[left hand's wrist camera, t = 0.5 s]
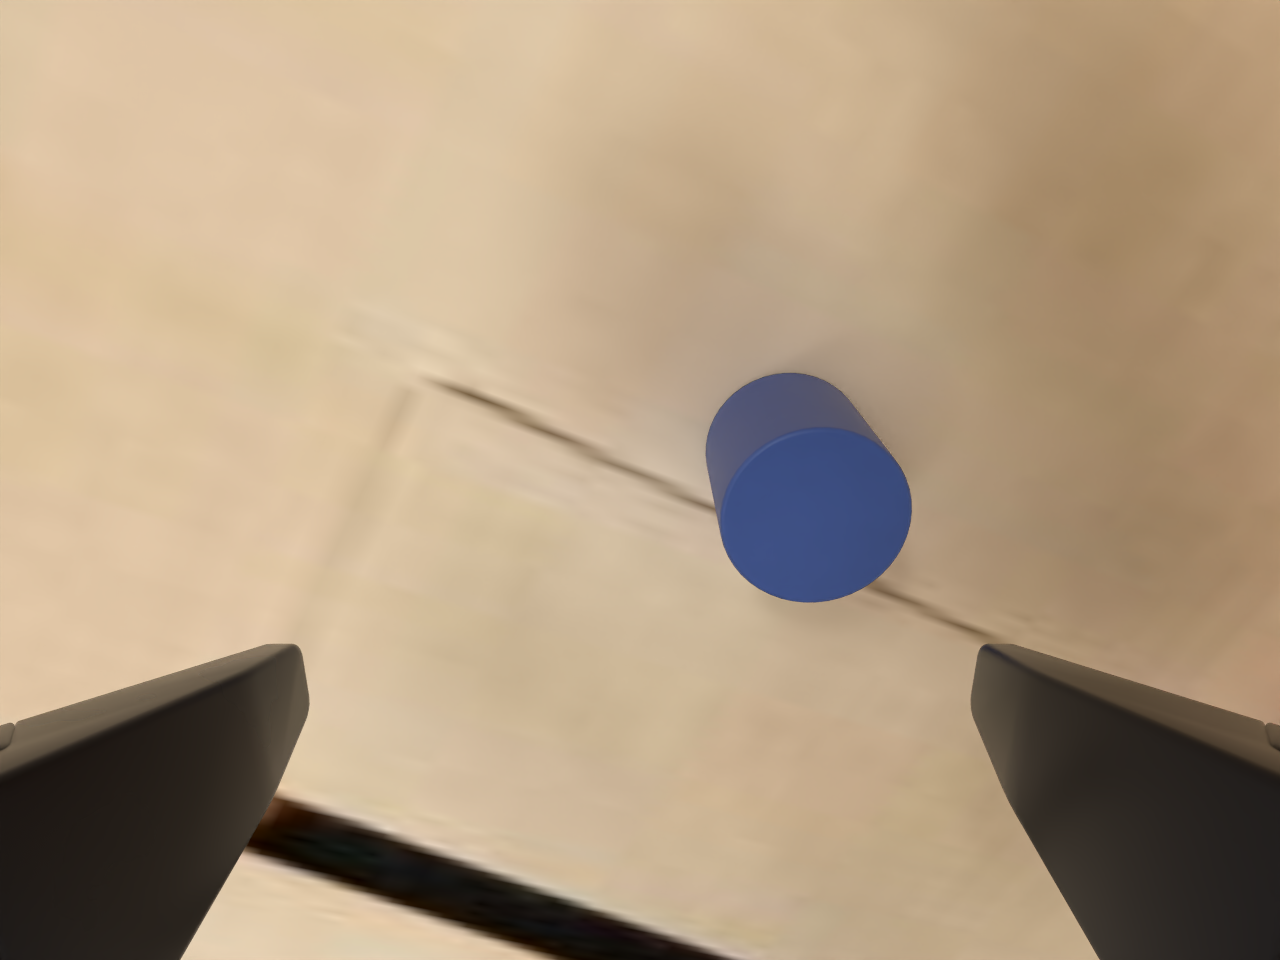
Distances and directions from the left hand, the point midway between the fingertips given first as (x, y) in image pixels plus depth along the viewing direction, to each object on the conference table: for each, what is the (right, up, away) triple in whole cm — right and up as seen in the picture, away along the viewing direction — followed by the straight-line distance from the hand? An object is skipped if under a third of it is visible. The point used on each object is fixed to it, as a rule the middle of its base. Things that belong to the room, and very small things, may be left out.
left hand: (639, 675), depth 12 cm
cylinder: (+4, +3, +10) cm, 11 cm away
